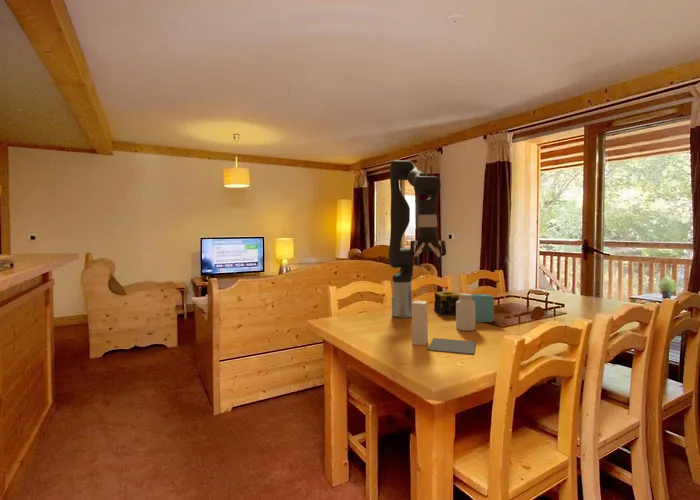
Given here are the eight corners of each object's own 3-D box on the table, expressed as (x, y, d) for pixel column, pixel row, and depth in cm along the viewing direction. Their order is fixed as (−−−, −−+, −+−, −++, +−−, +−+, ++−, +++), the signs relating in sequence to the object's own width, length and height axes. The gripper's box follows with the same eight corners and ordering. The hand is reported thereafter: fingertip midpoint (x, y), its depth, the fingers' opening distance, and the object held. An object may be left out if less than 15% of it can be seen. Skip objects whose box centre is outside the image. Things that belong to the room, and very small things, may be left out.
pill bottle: (476, 327, 167) (476, 293, 166) (474, 332, 159) (473, 296, 158) (457, 325, 170) (457, 292, 169) (454, 330, 163) (454, 295, 162)
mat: (427, 350, 139) (427, 349, 139) (433, 338, 152) (433, 337, 152) (474, 354, 133) (474, 353, 133) (475, 342, 146) (475, 341, 146)
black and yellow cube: (433, 310, 198) (433, 291, 198) (452, 310, 199) (452, 291, 199) (440, 315, 188) (440, 295, 188) (460, 314, 189) (460, 294, 188)
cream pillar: (412, 344, 145) (411, 303, 144) (414, 340, 150) (414, 300, 149) (425, 346, 144) (425, 304, 142) (427, 342, 148) (427, 301, 147)
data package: (491, 319, 178) (491, 294, 177) (493, 322, 174) (494, 296, 173) (465, 319, 180) (465, 294, 179) (466, 321, 176) (466, 296, 175)
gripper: (407, 226, 155) (408, 266, 156) (443, 225, 149) (443, 267, 150) (413, 226, 161) (413, 264, 163) (447, 225, 155) (447, 265, 157)
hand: (428, 265), depth 156 cm, fingers open, 8 cm apart
